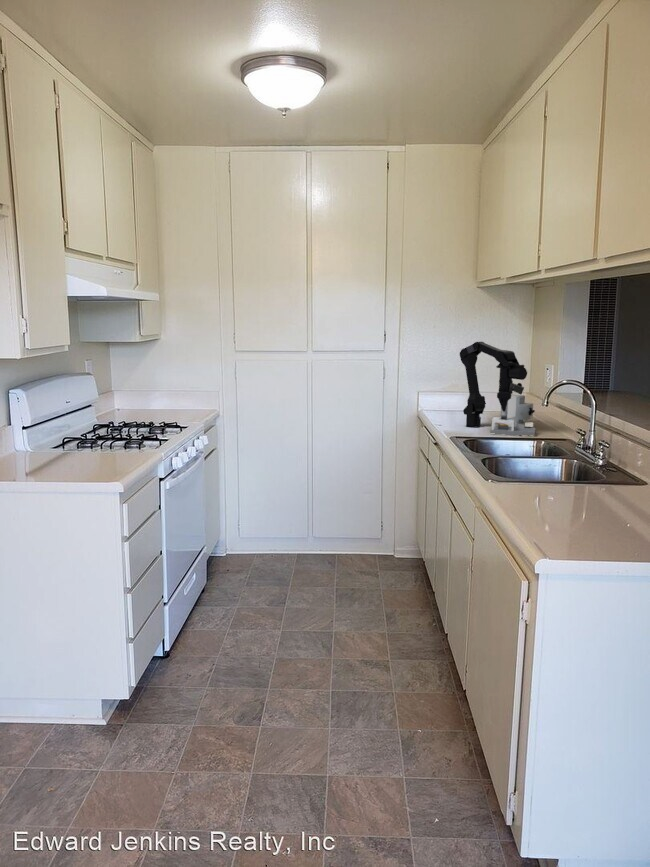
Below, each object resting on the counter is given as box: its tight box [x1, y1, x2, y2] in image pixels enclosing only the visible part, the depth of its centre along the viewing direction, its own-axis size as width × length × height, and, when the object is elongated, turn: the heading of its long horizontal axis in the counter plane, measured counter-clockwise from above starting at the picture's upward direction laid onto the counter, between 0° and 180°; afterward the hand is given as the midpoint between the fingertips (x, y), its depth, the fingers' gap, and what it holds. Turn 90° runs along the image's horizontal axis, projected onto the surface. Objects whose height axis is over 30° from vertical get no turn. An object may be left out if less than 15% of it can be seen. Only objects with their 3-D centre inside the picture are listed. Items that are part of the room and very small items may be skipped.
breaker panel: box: [489, 416, 536, 437], centre depth 309 cm, size 20×12×6 cm, turn 72°
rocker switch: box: [524, 421, 534, 427], centre depth 307 cm, size 4×4×1 cm
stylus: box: [500, 402, 508, 420], centre depth 309 cm, size 3×3×10 cm
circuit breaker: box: [502, 393, 536, 427], centre depth 328 cm, size 8×14×15 cm, turn 53°
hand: (504, 410), depth 309 cm, fingers closed on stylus, 3 cm apart
